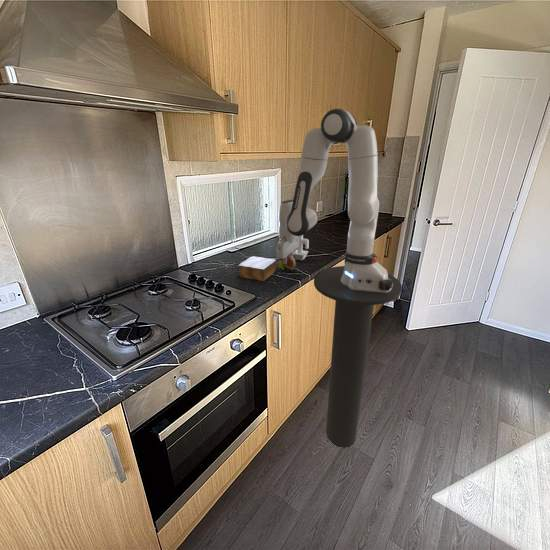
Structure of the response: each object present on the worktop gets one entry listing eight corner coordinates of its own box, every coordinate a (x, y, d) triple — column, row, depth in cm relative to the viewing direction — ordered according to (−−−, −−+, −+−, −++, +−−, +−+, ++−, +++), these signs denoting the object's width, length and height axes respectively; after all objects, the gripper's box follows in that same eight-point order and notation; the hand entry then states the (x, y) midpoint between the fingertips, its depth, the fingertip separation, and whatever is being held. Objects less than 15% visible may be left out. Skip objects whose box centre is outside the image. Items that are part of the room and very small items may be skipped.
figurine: (305, 262, 156) (306, 234, 150) (289, 259, 160) (289, 232, 154) (310, 257, 162) (311, 231, 156) (294, 255, 166) (295, 229, 160)
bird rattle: (295, 272, 149) (281, 262, 152) (303, 255, 142) (289, 244, 145) (288, 276, 144) (274, 265, 147) (296, 258, 138) (281, 247, 141)
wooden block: (276, 271, 145) (276, 259, 143) (264, 281, 134) (263, 269, 131) (252, 267, 150) (252, 256, 148) (238, 276, 139) (237, 265, 137)
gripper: (285, 241, 130) (285, 269, 135) (301, 230, 147) (301, 256, 152) (272, 239, 132) (273, 267, 138) (289, 229, 149) (289, 254, 155)
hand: (287, 261), depth 145 cm, fingers closed on bird rattle, 4 cm apart
